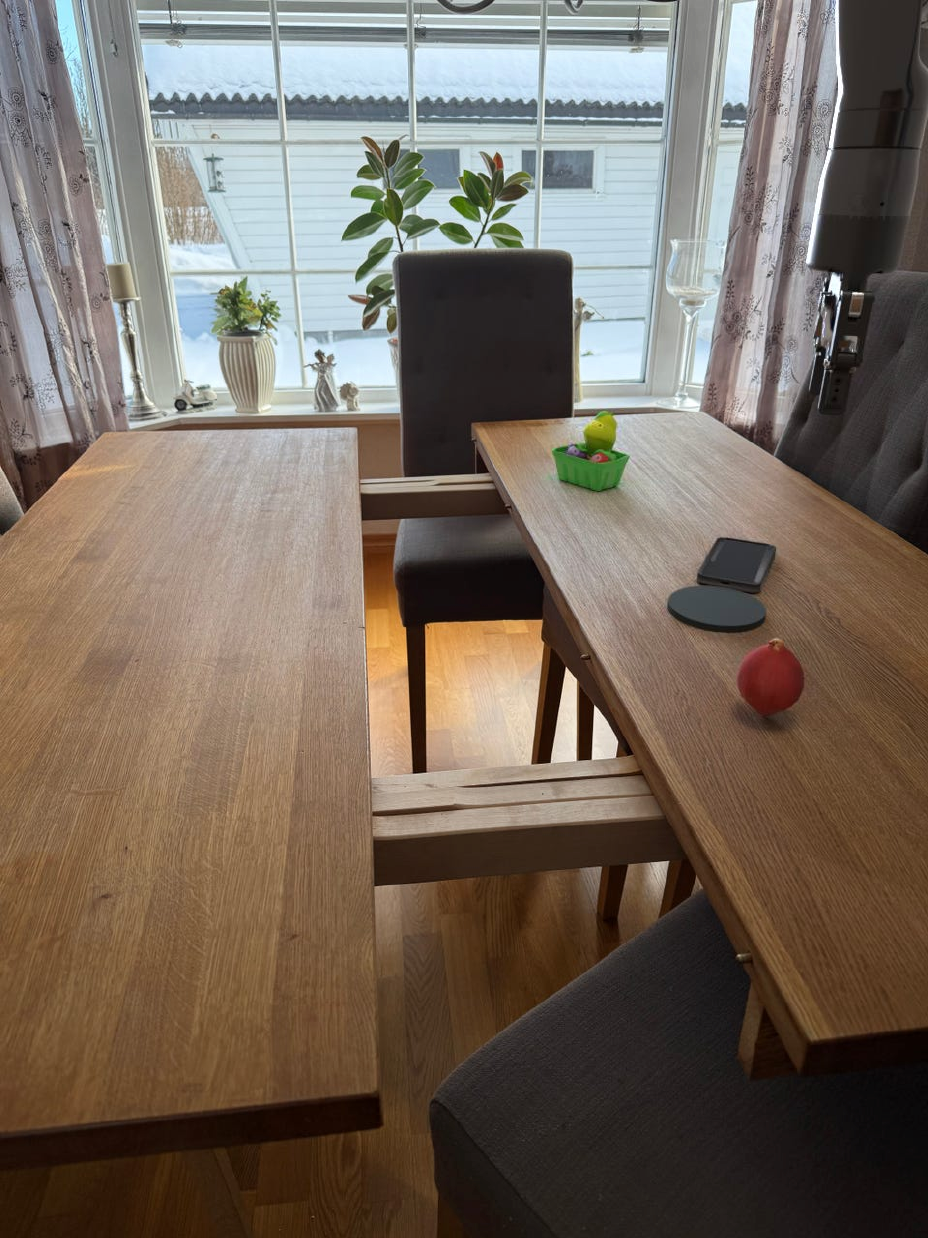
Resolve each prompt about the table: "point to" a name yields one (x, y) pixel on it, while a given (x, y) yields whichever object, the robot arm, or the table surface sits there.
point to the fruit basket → (593, 456)
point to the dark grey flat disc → (716, 608)
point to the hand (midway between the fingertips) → (825, 403)
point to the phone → (737, 564)
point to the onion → (770, 678)
